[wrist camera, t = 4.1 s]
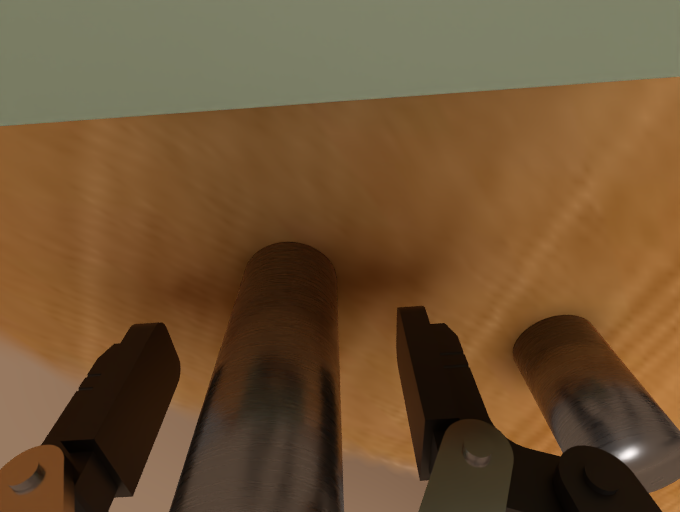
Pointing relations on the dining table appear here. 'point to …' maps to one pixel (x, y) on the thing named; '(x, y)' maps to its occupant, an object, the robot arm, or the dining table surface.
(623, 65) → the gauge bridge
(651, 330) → the dining table surface
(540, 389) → the short pin
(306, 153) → the dining table surface
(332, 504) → the long pin
